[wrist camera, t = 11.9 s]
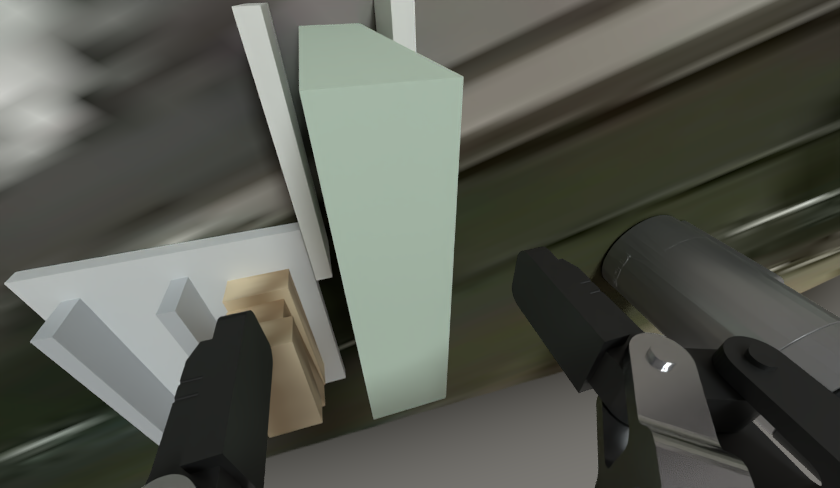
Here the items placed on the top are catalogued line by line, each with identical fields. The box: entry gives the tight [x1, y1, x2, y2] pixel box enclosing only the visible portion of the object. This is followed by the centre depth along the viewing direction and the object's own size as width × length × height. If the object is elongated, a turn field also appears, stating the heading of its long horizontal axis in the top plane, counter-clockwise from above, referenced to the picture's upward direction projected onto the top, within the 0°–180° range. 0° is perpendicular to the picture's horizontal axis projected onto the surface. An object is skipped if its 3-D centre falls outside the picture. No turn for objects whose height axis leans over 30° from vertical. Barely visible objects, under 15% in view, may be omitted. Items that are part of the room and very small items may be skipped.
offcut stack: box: [222, 269, 326, 438], centre depth 24 cm, size 4×12×6 cm, turn 2°
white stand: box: [232, 0, 416, 281], centre depth 19 cm, size 7×14×4 cm, turn 2°
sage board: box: [299, 23, 463, 419], centre depth 15 cm, size 3×12×14 cm, turn 1°
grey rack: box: [4, 222, 346, 445], centre depth 25 cm, size 16×18×4 cm
